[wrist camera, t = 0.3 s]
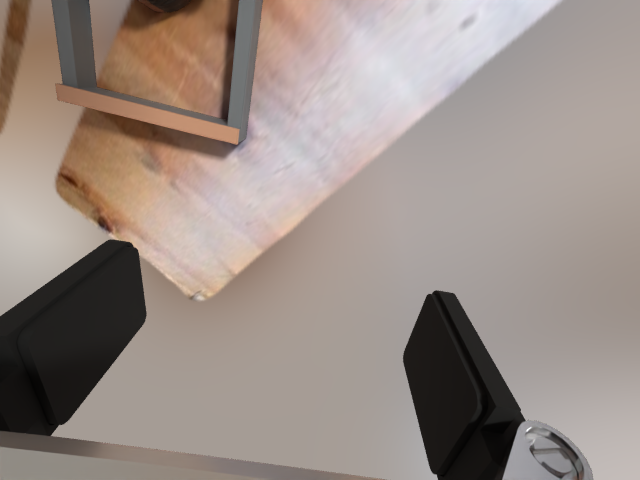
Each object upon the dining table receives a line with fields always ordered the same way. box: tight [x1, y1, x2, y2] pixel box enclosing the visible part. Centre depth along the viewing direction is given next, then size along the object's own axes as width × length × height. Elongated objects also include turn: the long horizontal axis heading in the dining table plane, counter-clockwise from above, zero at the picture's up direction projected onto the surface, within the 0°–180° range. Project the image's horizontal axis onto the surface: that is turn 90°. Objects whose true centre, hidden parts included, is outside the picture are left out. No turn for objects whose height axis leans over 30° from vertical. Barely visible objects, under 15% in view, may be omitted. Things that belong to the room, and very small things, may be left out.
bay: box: [52, 0, 263, 144], centre depth 30 cm, size 22×19×4 cm
